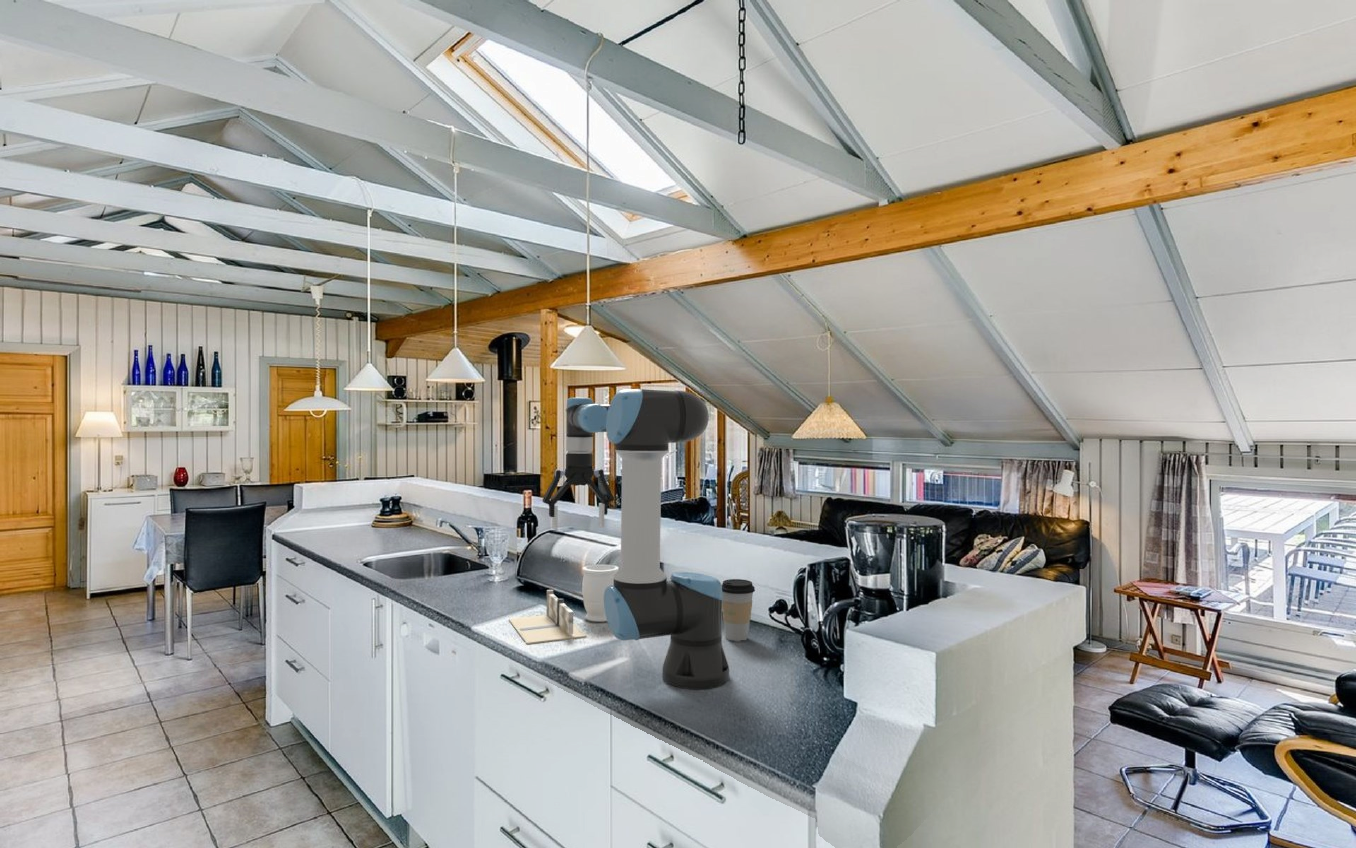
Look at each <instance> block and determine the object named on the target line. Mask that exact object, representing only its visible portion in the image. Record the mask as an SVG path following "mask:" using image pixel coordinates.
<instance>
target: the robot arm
mask: <svg viewBox="0 0 1356 848" xmlns="http://www.w3.org/2000/svg"><path fill="white" fill-rule="evenodd" d="M565 412H566V417H565V418H566V423H565V425H566V427H565V429H566V431H565V433H566V438H565V439H566V441H565V451H567V453H566V454H565V469H564V470H561V469H554V472H553V478H552V480H551V483H549V486H548V488H547V490H546V492H545V494H544V496H543V498H542V500H541V501H542V503H544V504H545V505H546V504H547V505H548V516H549V517H550V518H552V524H551V525H552V526H551V527H552V529H553V530H558V517H559V515H558V514H559V513H558V507H559V506H558V505H556V504H557V503H558V502H559V500H560V499H561V498H562V497H563V495H564V494H565V493H566V491H567V490H568V489H570V487H571V486H586V485H587V486H588V487H589V488H590V490H592V493H594V495H595V496H596V497H597V498H598V499H599V500H600V502H599V503H598V526H599V527H600V528H605V516H607V515H608V511H609V510H608V507H609V505H608V504H609V503H610V502H614V501H615V497H614V495H613V493H612V490H611V489H610V486H609V485H608V484H609V483H608V482H607V480H606V478H605V475H604V474H605V473H604V469H602V468H597V469H593V467H594V466H593V465H594V464H593V461H594V460H593V459H594V455H593V453H592V452H593V450H594V434H596V433H597V434H598V433H606V437H607V440H608V441H609V442H610V443H612V444H614V445H615V446H614V447H615V449H614V452H615V453H616V454H617V455H618V456H620V458H621V503H620V504H621V508H620V509H621V511H620V513H621V518H620V520H621V522H620V523H621V524H620V567H619V570H618V572H617V573H616V574H615V575H614V582H613V585H610V586H609V587H607V588H606V589H605V593H604V609H605V614H606V618H607V621H606V622H607V625H608V626H609V630H610V631H611V633H612V634H613V635H614V637H615V638H616V639H618V640H620V641H633V640H634V641H639V640H644V639H650V638H659V637H667V636H670V643H669V646H668V649H667V652H666V655H665V658H664V661H663V664H662V668H661V669H662V670H661V671H662V676H661V677H662V680H663V681H664V682H665V683H668V684H669V685H671V686H673V687H678V688H681V689H690V690H704V689H705V690H707V689H713V688H718V687H720V686H722V685H725V684H727V682H728V681H729V680H730V666H729V664H728V661H727V657H726V652H725V651H724V647H723V641H722V640H723V637H722V635H723V610H722V600H723V595H722V583H721V581H720V580H719V579H718V578H716V577H714V576H711V575H708V574H704V573H698V572H697V573H696V572H693V571H691V572H689V571H676V572H673V573H671V575H670V578H669V579H670V580H667V579H668V577H667V574H666V573H665V572H664V571H663V570H662V569H661V521H662V520H661V517H662V514H661V512H662V511H661V510H662V509H661V507H662V506H661V500H662V497H661V496H662V495H661V494H662V460H663V458H664V457H665V456H666V455H667V454H668V453H669V444H674V443H676V444H677V443H679V444H680V443H686V442H690V441H692V440H695V439H697V438H698V437H700V436H701V435H703V433H704V432H705V431H706V429H707V427H708V424H709V421H710V419H709V418H710V416H709V415H710V414H709V410H708V407H707V405H706V403H705V402H704V401H703V400H702V399H701V398H700V397H699V396H697V395H695V394H693V393H692V392H688V391H684V390H667V389H665V390H664V389H663V390H662V389H642V388H634V389H633V388H632V389H622V390H621V389H620V390H619V391H618V392H616V394H614V396H613V397H612V400H610V404H604V403H603V404H601V403H600V404H599V403H594V400H593V399H592V398H589V397H569V398H568V399H567V401H566V408H565ZM594 475H595V477H596V478H597V479H598V481H599V484H600V486H601V488H602V490H603V492H604V494H603V493H602V491H601V490H600V489H599V488H598V486H597V485H596V484H595V482H594V481H593V479H592V478H593V477H594ZM563 476H564V477H565V478H566V480H565V481H564V482H563V484H562V485H561V486H560V488H559V489H558V490H557V491H556V492H555V490H556V488H557V486H558V484H559V483H560V479H562V478H563ZM554 492H555V494H554Z"/></svg>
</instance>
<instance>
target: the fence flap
mask: <svg viewBox="0 0 1356 848" xmlns="http://www.w3.org/2000/svg"><path fill="white" fill-rule="evenodd" d="M573 623H574V611H573V610H572V609H571V608H570V607H569V606H567V604H566V603H565V599H564V598H558V599H557V624H559V625H560V626H561V627H562V628H563V629H564V630H565V631H566V632H567V633H568V634H569V635H571V634H573Z"/></svg>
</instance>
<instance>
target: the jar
mask: <svg viewBox="0 0 1356 848" xmlns="http://www.w3.org/2000/svg"><path fill="white" fill-rule="evenodd" d="M619 570H620V567H619V566H617V565H613V564H601V563H600V564H598V563H597V564H589V565H585V566H583V567H582V572H583V573H584V574H583V577H582V584H581V590H582V591H581V593H582V599H583V606H584V610H585V611H586V614H585V616H584V618H585V619H586V620H587V621H589V622H596V623H597V622H598V623H600V622H601V623H602V622H604V623H605V622H607V618H606V614H605V609H604V593H605V589H606V588H607V587H609V586H610V585H613V582H614V575H615V574H616V573H617V572H618V571H619Z"/></svg>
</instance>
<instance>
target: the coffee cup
mask: <svg viewBox="0 0 1356 848" xmlns="http://www.w3.org/2000/svg"><path fill="white" fill-rule="evenodd" d="M721 585H722V595H723V600H722V621H723V624H724V625H723V626H724V636H725V639H726V638H727V639H726V640H728V641H730V640H734V641H733V642H741V641H740V640H745V641H747V640H748V639H747V638H749V631H750V630H749V629H750V622H751V615H752V609H753V608H752V607H753V595H754V592H755V591H756V589H755V586H754V585H753V582H752V581H751V580H747V579H742V578H741V579H739V578H733V579H731V578H730V579H729V578H728V579H726V580H723V582H722V583H721ZM746 639H747V640H746Z"/></svg>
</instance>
